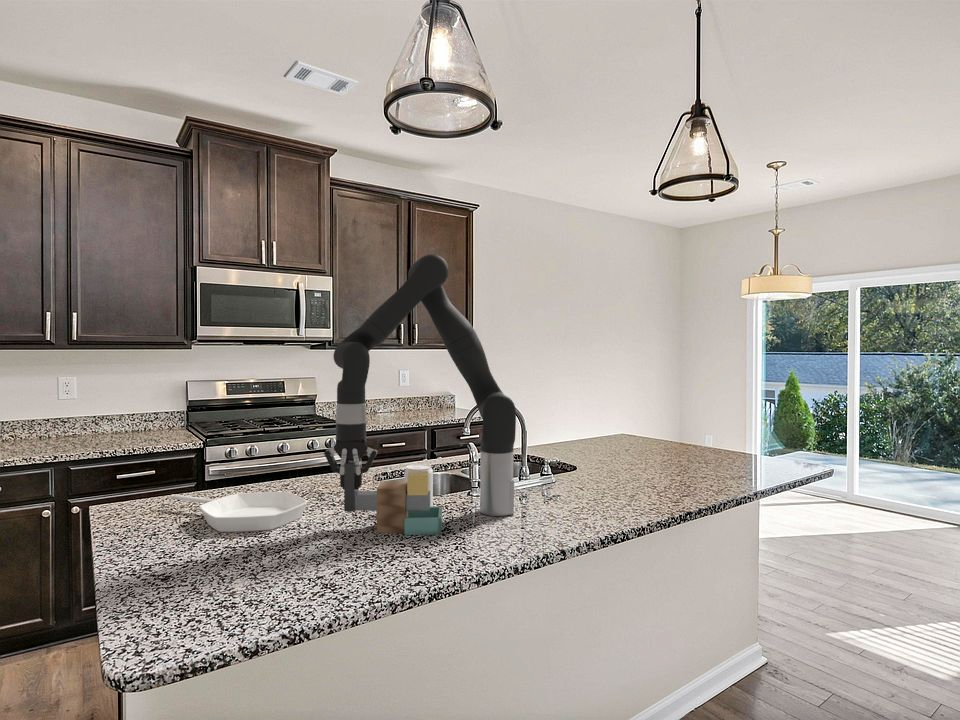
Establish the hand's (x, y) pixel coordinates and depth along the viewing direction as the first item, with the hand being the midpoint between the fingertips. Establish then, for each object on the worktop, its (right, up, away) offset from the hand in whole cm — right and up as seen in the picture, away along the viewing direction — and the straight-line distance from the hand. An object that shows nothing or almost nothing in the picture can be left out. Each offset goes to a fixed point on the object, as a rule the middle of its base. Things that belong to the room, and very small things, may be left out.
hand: (351, 488), depth 152 cm
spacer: (+17, -1, +1) cm, 17 cm away
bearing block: (+10, -10, +1) cm, 15 cm away
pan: (-35, -10, +10) cm, 38 cm away
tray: (+18, -10, +1) cm, 21 cm away
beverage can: (+15, -10, +19) cm, 26 cm away
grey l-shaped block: (+9, -5, +1) cm, 11 cm away
